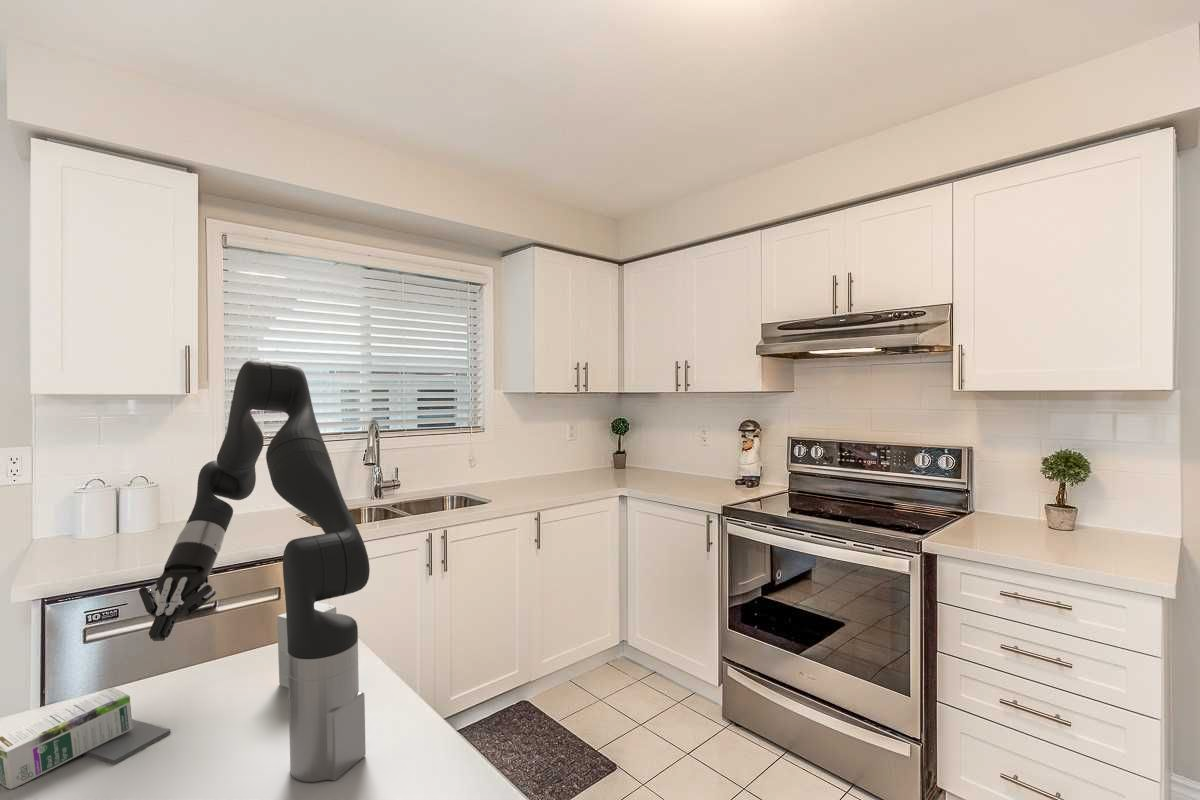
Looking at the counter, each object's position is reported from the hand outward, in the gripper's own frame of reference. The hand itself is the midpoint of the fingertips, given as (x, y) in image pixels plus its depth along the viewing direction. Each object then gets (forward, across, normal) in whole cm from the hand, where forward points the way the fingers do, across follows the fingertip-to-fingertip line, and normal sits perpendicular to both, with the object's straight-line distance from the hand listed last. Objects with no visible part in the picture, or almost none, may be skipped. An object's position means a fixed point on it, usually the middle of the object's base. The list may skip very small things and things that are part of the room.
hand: (156, 639), depth 102 cm
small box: (+4, +24, +11) cm, 26 cm away
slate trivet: (+16, +1, -1) cm, 16 cm away
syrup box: (+11, +1, -2) cm, 11 cm away
